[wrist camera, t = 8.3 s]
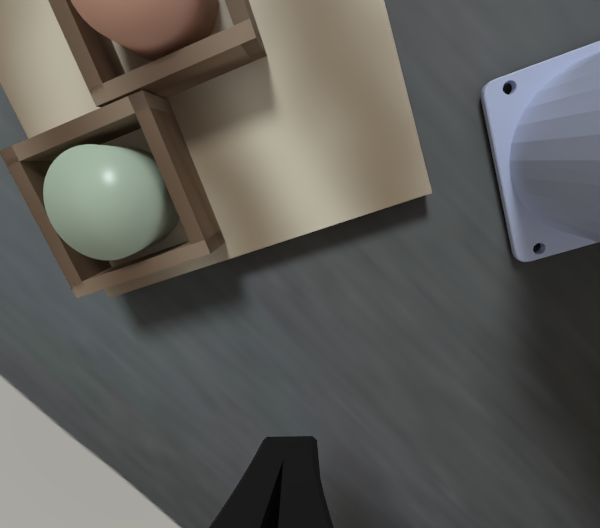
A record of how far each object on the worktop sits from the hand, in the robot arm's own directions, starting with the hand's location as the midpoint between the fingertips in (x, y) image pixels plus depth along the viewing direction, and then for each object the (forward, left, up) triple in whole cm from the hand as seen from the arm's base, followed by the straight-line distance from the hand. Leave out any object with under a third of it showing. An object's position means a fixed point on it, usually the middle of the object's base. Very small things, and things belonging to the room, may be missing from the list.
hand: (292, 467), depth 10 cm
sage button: (+6, -9, -8) cm, 13 cm away
